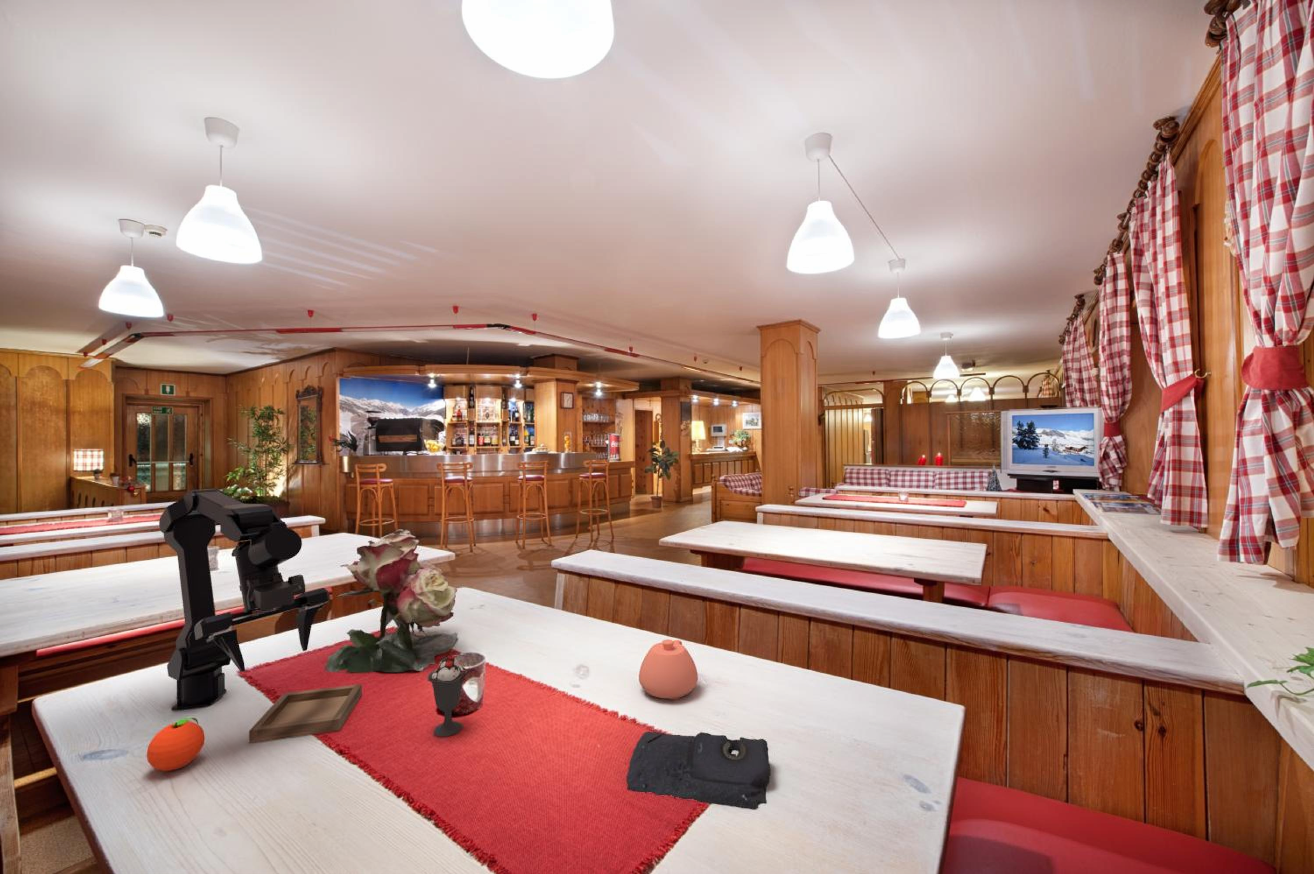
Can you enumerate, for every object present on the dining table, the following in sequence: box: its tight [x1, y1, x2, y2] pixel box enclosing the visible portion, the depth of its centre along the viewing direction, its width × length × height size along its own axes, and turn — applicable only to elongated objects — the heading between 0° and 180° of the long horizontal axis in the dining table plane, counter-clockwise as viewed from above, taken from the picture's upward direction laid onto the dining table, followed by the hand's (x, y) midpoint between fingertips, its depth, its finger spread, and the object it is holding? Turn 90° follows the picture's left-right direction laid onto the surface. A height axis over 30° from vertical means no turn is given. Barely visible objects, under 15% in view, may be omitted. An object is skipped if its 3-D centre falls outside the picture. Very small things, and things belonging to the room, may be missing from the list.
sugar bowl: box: [638, 638, 699, 701], centre depth 109 cm, size 12×14×10 cm
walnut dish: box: [248, 683, 363, 744], centre depth 99 cm, size 14×14×2 cm
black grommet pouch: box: [626, 731, 772, 811], centre depth 83 cm, size 15×22×5 cm
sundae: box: [427, 648, 468, 738], centre depth 94 cm, size 7×7×15 cm
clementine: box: [146, 717, 206, 772], centre depth 85 cm, size 8×7×7 cm
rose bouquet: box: [324, 529, 459, 674], centre depth 130 cm, size 26×29×30 cm
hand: (275, 660), depth 91 cm, fingers open, 9 cm apart
